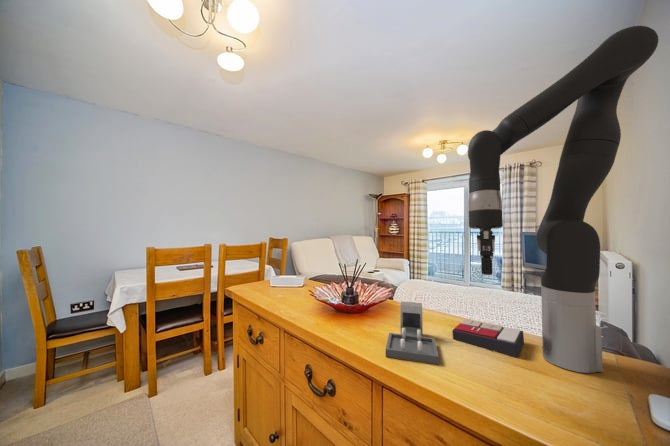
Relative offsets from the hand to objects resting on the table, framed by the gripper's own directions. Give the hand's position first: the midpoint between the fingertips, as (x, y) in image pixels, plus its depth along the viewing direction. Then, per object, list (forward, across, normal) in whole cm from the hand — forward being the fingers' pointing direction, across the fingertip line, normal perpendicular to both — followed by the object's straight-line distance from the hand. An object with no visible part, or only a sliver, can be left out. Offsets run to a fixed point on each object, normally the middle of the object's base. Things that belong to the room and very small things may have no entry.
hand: (486, 273), depth 63 cm
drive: (+20, +3, +19) cm, 28 cm away
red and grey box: (+20, +9, 0) cm, 22 cm away
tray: (+20, -7, +17) cm, 27 cm away
